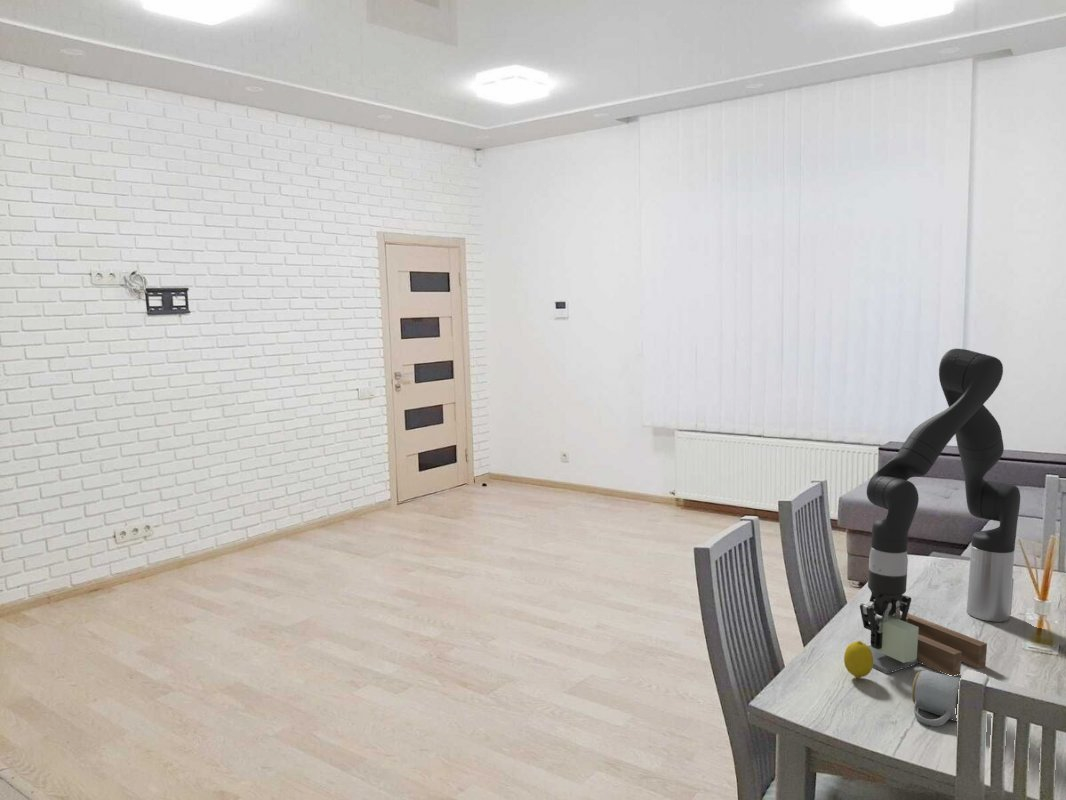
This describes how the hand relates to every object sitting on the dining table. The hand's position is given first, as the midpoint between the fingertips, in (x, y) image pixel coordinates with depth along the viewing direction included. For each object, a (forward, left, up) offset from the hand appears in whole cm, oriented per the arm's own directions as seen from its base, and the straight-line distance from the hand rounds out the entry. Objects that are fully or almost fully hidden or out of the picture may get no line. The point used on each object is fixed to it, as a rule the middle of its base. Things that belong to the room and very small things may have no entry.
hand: (883, 645), depth 174 cm
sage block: (0, +3, -1) cm, 3 cm away
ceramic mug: (+11, +21, -4) cm, 24 cm away
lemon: (+12, +4, -3) cm, 13 cm away
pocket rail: (-11, +3, -3) cm, 12 cm away
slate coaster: (0, 0, -3) cm, 3 cm away
